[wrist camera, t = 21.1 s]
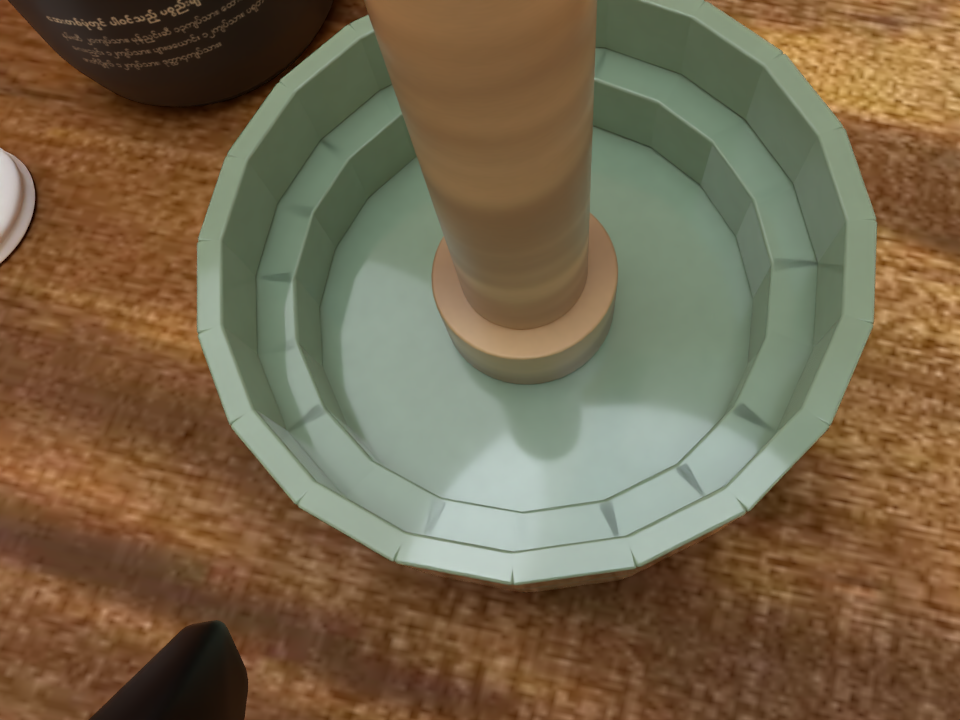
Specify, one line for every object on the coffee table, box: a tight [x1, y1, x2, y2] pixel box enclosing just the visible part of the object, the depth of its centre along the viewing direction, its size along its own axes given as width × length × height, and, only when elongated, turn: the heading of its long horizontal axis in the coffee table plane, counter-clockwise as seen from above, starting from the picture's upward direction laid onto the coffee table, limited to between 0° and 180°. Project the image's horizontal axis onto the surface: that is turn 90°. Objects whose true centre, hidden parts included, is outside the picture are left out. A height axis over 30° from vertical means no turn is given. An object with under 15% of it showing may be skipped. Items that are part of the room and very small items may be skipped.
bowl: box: [197, 0, 877, 593], centre depth 18 cm, size 14×14×4 cm
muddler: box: [364, 0, 618, 384], centre depth 13 cm, size 4×4×13 cm
